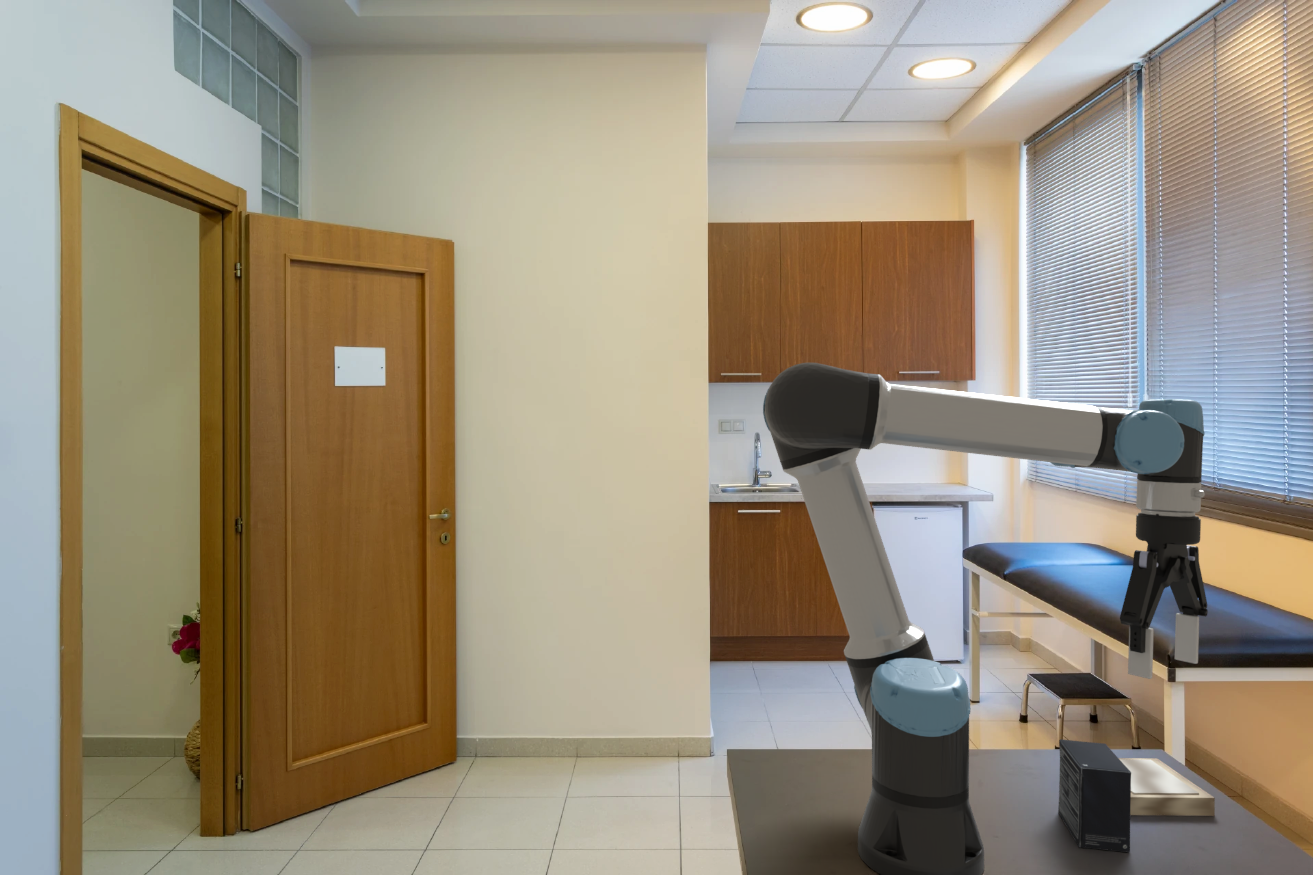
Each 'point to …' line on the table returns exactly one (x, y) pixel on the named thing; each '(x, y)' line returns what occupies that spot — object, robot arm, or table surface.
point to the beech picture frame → (1164, 791)
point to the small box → (1094, 795)
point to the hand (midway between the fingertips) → (1163, 668)
